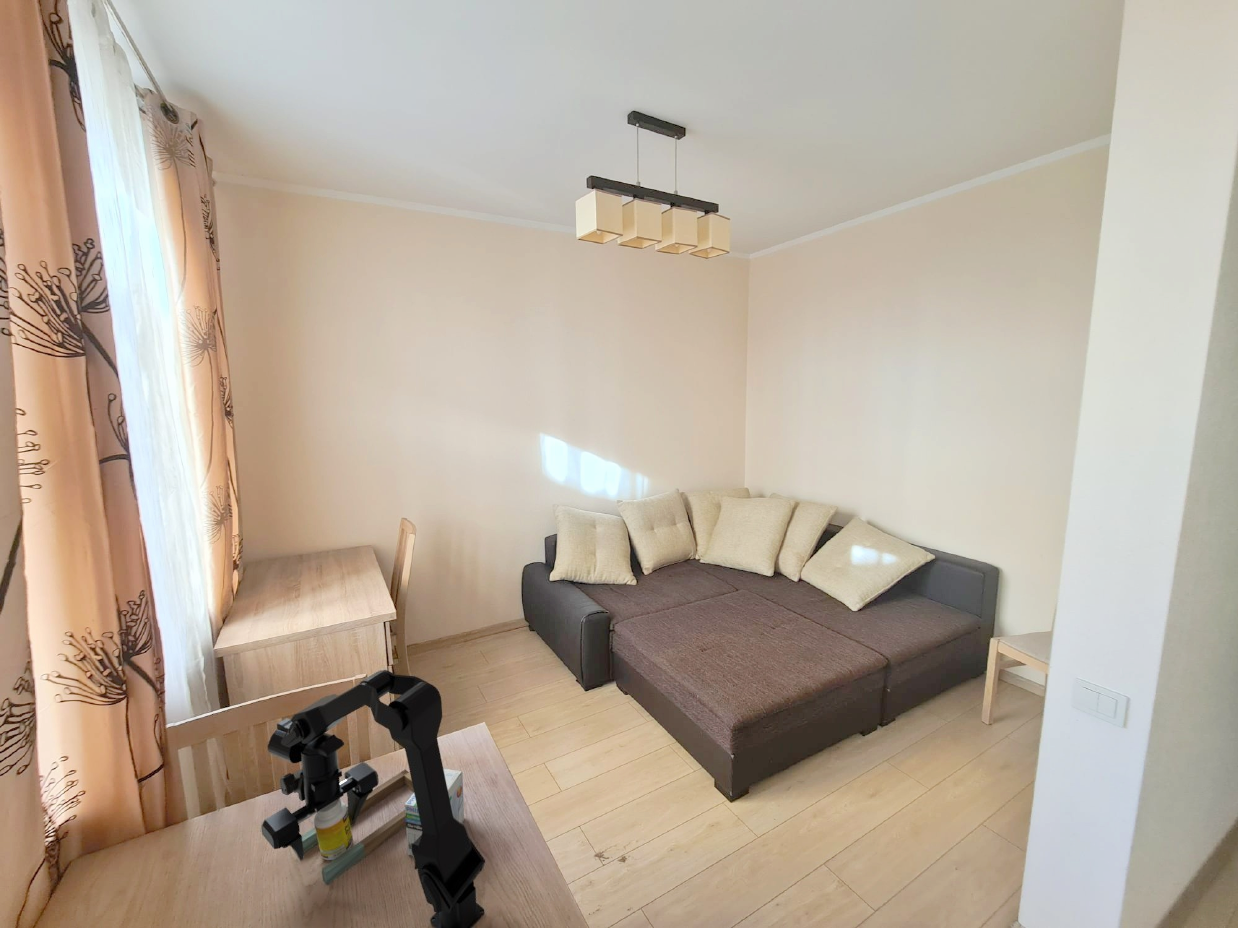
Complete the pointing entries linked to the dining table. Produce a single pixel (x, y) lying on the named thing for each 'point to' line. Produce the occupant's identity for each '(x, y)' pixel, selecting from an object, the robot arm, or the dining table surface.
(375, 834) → the bay
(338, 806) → the supplement bottle
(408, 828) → the light bulb box
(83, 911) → the dining table surface
